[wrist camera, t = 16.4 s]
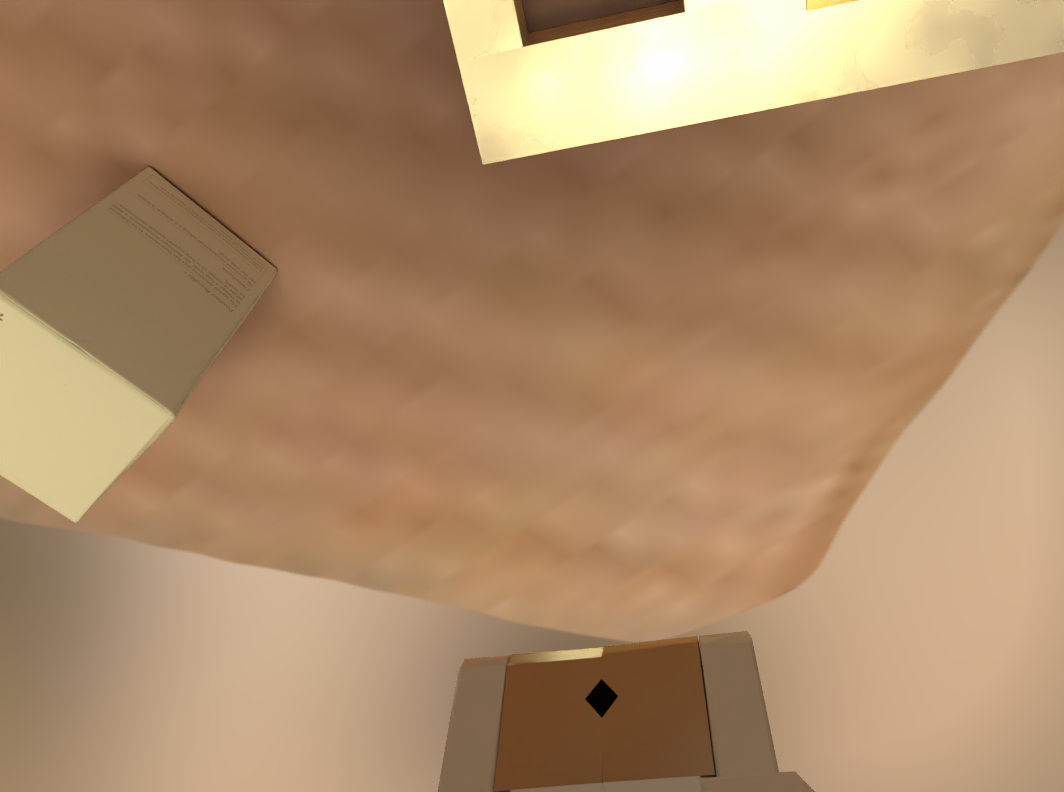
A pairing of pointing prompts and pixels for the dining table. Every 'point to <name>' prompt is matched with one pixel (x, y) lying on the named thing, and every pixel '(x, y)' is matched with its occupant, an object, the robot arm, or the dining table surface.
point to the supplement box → (113, 336)
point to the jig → (716, 60)
